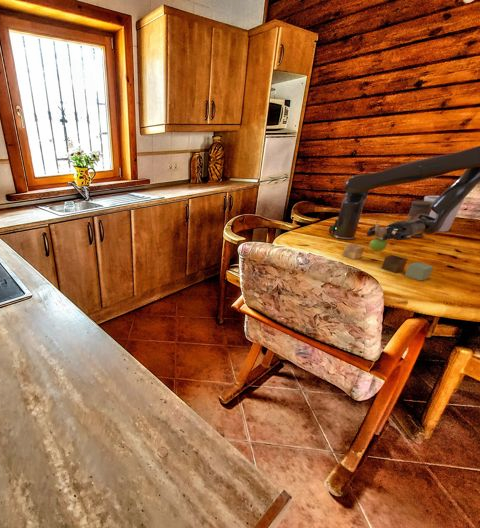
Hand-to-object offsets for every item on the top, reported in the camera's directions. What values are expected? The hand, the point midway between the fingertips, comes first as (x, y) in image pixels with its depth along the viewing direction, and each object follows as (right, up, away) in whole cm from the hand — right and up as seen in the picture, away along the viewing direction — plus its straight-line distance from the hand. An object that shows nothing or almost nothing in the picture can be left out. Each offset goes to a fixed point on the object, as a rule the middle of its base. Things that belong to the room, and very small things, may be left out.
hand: (376, 235), depth 115 cm
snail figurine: (+3, -6, +4) cm, 8 cm away
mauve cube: (0, -8, +13) cm, 15 cm away
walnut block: (+6, -14, -1) cm, 15 cm away
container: (+50, +4, +35) cm, 62 cm away
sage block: (+9, -17, -8) cm, 21 cm away
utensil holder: (+71, +8, +44) cm, 84 cm away
